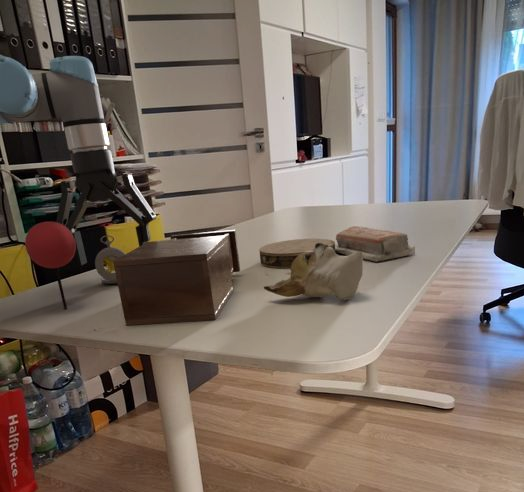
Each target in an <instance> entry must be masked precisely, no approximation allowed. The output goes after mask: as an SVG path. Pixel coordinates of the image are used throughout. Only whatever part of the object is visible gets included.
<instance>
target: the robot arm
mask: <svg viewBox="0 0 524 492" xmlns="http://www.w3.org/2000/svg"><path fill="white" fill-rule="evenodd" d="M48 70H49V71H45V72H39V73H37V72H36V73H31V72H30V70H28V69H27V68H26V66H25V65H23V64H22V63H20V62H19V61H18V60H16V59H14V58H12V57H8V56H5V55H3V54H0V125H1V124H2V125H3V124H11V125H14V124H17V123H26V122H35V121H42V120H51V119H52V120H56V119H61V121H62V126H63V129H64V134H65V139H66V144H67V149H68V150H69V151H72V153H71V154H70V162H71V165H72V170H73V173H74V175H75V179H74V180H70V179H67V180H62V181H60V189H61V190H60V191H61V195H60V199H59V200H60V201H59V205H58V210H57V216H56V221H55V222H57V223H60V224H62V225H64V226H65V227H67V228H68V229H69V230H70V231H71V233H72V234H73V236H74V239H75V243H76V251H75V255H74V256H75V258H76V263H77V266H83V265H85V264H88V260H87V256H86V252H85V248H84V243H83V239H82V234H81V231H80V230H78V229H77V227H78V226H79V223H80V222H81V220H82V218H83V216H84V214H85V212H86V210H87V208H88V206H89V204H90V203H97V202H99V201H101V202H106V201H110V200H111V201H112V202H113V203H115V204H117V206H119V207H120V209H121V210H122V211H124V212H125V213H126V214H127V215H128V216H129V217H131V219H133V221H135V222H136V223H137V224H138V225H137V226H135V232H136V237H137V243H138V247H140V246H141V245H143V244H145V243H147V242H151V239H152V238H151V232H150V226H149V224H150V223H151V222H153V221H155V220H156V219H157V215H156V213H155V211H154V210H153V209H152V207H151V206H150V204H149V203H148V202H147V200H146V199H145V197H144V196H143V194H142V193H141V191H140V190H139V189H138V186H137V185H136V184H135V180H134V177H133V174H132V173H130V172H126V173H123V174H122V175H117V174H116V171H115V164H114V160H113V155H112V151H111V150H110V149H108V147H109V146H110V140H109V136H108V130H107V125H106V120H105V116H104V111H103V105H102V100H101V95H100V90H99V83H98V81H97V78H96V73H95V69H94V65H93V62H92V61H91V60H90V59H89V58H87V57H85V56H81V55H64V56H59V57H55V58H54V57H53V58H52V59H50V60H49V69H48ZM119 184H120V185H121V186H122V187H124V188H125V190H126V191H127V193H128V194H129V196H130V197H131V199H132V200H133V202H134V203H135V205H136V206H137V208H136V207H135V205H134V204H132V203H131V202H130V201H129V200H128V199H127V198H126V197H125V196H124V194H123V193H121V192H120V191H119V190H118V189H117V188H118V185H119ZM76 189H77V190H78V191H79V192H80V195H79V197H78V198H77V202H76V204H75V206H74V208H73V211H72V213H71V215H70V212H71V206H72V202H73V197H74V192H76Z"/></svg>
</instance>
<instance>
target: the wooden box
mask: <svg viewBox="0 0 524 492" xmlns="http://www.w3.org/2000/svg"><path fill="white" fill-rule="evenodd" d="M113 264H114V269H115V271H114V273H115V274H116V279H117V283H116V284H117V289H118V293H119V297H120V302H121V307H122V312H123V316H124V317H123V318H124V321H125V326H139V325H154V324H157V325H158V324H173V323H189V322H190V323H191V322H205V321H216V320H217V318H218V316H219V315H220V314H221V312H222V311H223V309H224V307H225V305H226V304H227V303H228V301H229V300H230V298H231V296H232V295H233V294H234V285H233V277H232V275H231V268H230V260H229V252H228V244H227V236H226V235H222V236H210V237H199V238H187V239H175V240H171V239H166V240H154V241H148V242H147V243H145V244H143V245H141V246H140V247H139V246H138V247H136V248H134V249H132V250H130V251H129V252H126V253H125V255H123V256H121V257H120V258H118V259H116V260H114V261H113Z"/></svg>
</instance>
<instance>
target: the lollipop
mask: <svg viewBox="0 0 524 492" xmlns="http://www.w3.org/2000/svg"><path fill="white" fill-rule="evenodd" d="M24 244H25V251H26V253H27V255H28V256H29V258H30V259H31V260H32V261H33V262H34V263H35V264H36V265H38V266H40V267H42V268H46V269H54V271H55V276H56V280H57V285H58V288H59V293H60V297H61V301H62V305H63V310H67V309H68V307H67V302H66V297H65V292H64V289H63V284H62V281H61V280H62V279H61V276H60V270H59V268H62V267H64V266H66V265H68V264H69V263H70V262H71V261H72V259H73V258H74V257H75V256H76V255H75V251H76V243H75V239H74V236H73V234H72V233H71V231H70V230H69V229H68V228H67V227H65V226H64V225H62V224H60V223H57V222H56V221H43V222H39V223H37V224H35V225H33V226H32V227H31V228H30V229H29V230H28V232H27V234H26V235H25V242H24Z"/></svg>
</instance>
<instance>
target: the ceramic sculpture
mask: <svg viewBox="0 0 524 492" xmlns="http://www.w3.org/2000/svg"><path fill="white" fill-rule="evenodd" d="M363 261H364V259H363V254H362V252H361V251H359V252H357V253H355V254H351V255H339V254H338V253H336V252H334V250H333V248H331V247H330V246H328V245H325V244H322V243H317V244H316V245H315V248H314V251H306V252H304V253H302V254H300V255H298V256H297V257H296V259H295V260H294V261H293V263H292V266H291V268H290V277H289V278H288V279H284V280H280V281H278V282H277V283H274V284H273V285H266V286H263V289H264V290H265V291H267V292H270V293H272V294H275V295H277V296H281V297H285V298H292V297H293V298H294V297H298V296H301V295H302V296H304V297H307V298H323V297H326V296H328V295H334V296H336V297H337V298H338V299H339V300H343V301H344V300H350V299H352V298H354V296H355V295H356V293H357V290H358V287H359V284H360V281H361V279H362V277H363V269H364V265H363V264H364V263H363Z"/></svg>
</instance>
